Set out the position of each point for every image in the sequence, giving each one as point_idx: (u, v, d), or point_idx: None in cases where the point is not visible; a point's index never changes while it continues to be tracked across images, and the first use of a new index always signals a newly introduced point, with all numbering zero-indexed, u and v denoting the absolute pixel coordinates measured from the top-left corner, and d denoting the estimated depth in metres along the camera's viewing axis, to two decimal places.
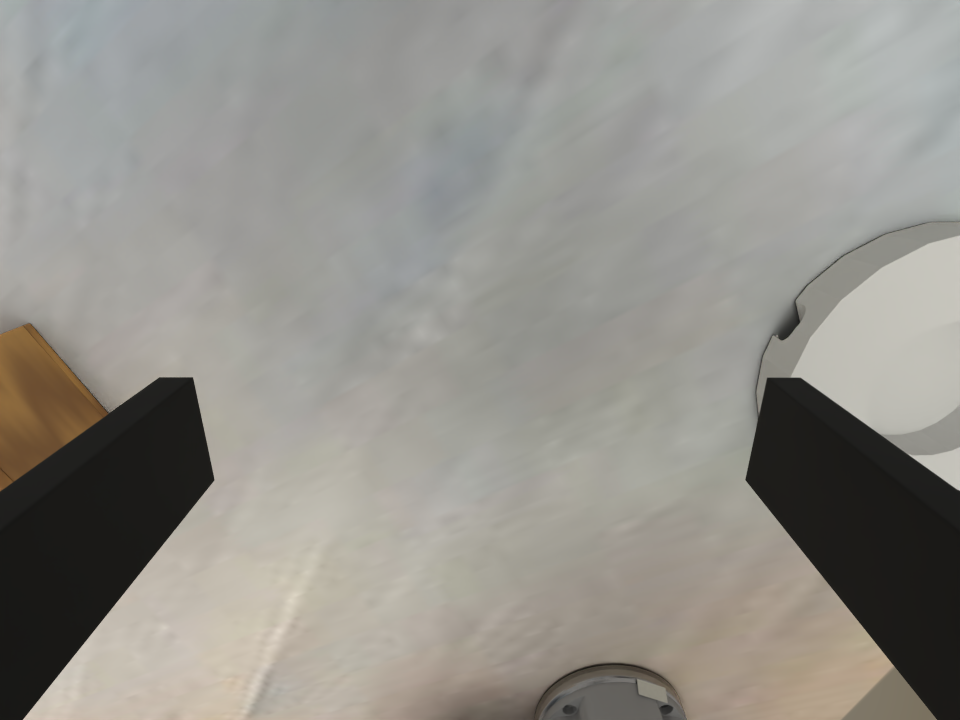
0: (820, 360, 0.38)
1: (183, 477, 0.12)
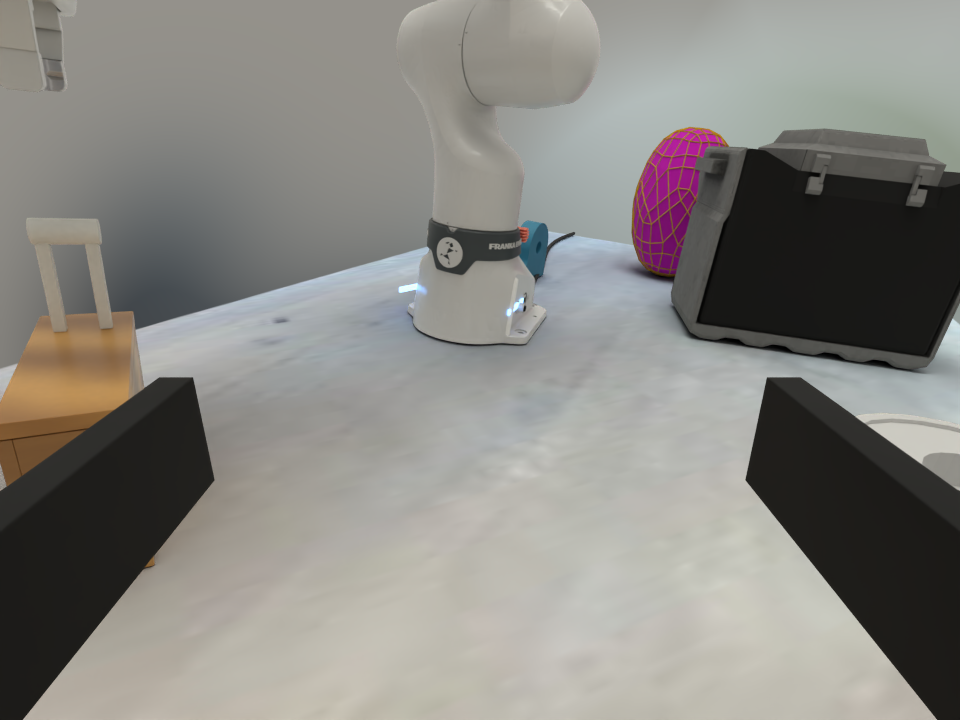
0: None
1: (183, 477, 0.12)
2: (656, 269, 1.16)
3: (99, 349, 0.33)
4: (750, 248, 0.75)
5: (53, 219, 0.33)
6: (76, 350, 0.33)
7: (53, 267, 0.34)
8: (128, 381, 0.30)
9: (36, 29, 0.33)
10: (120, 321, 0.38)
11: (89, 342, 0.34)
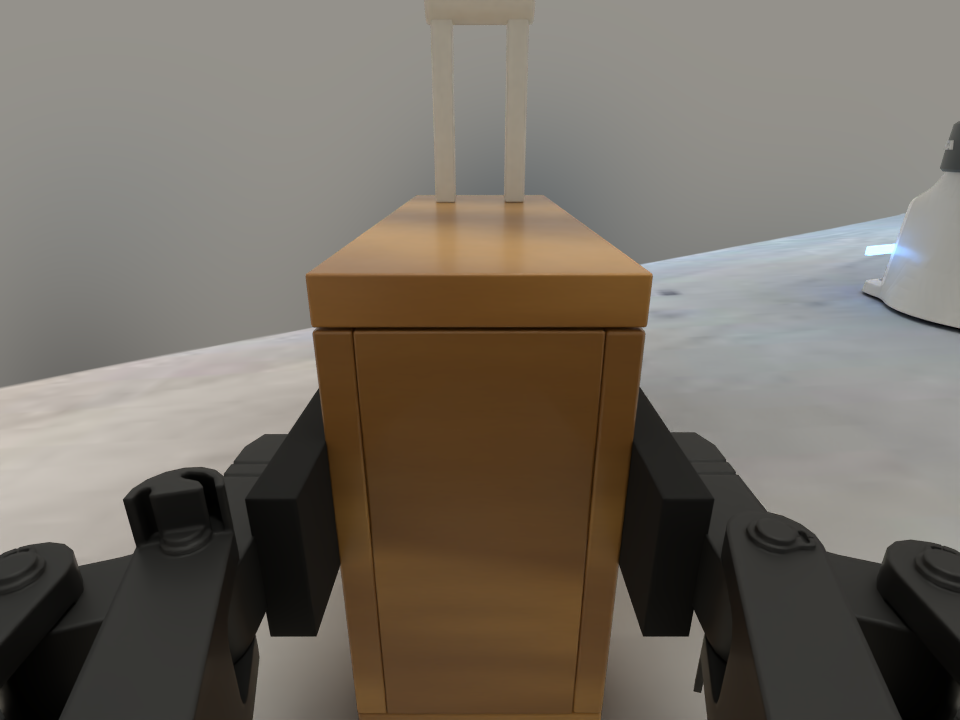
0: None
1: None
2: None
3: (515, 213, 0.16)
4: None
5: None
6: (476, 213, 0.16)
7: (452, 71, 0.18)
8: (606, 241, 0.11)
9: None
10: (532, 199, 0.21)
11: (494, 209, 0.17)
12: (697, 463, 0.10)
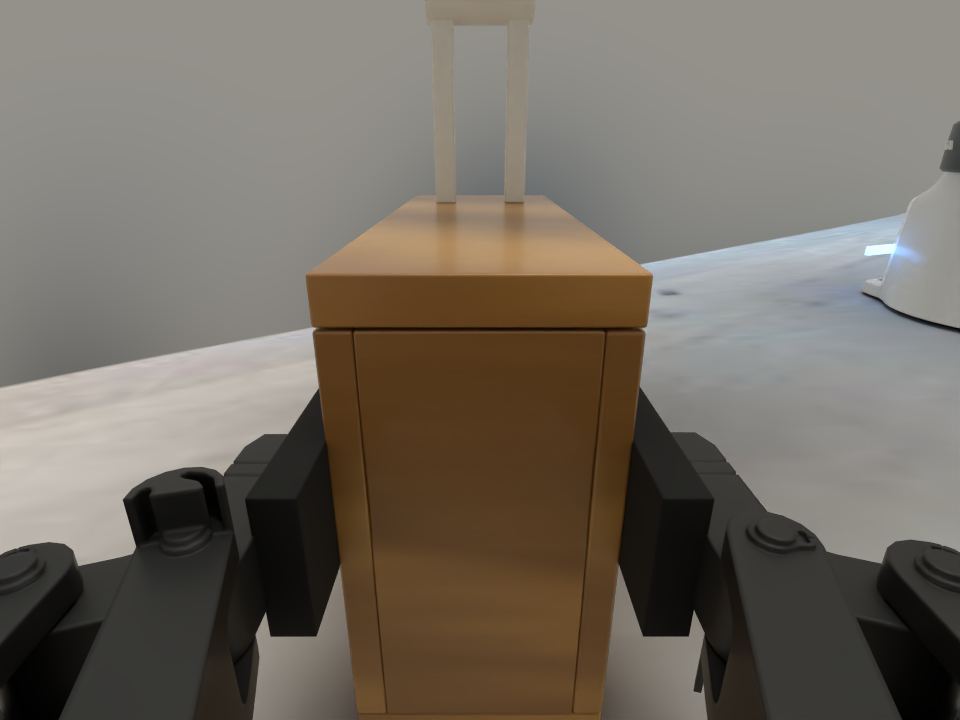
0: None
1: None
2: None
3: (515, 214, 0.16)
4: None
5: None
6: (476, 213, 0.16)
7: (452, 72, 0.18)
8: (606, 241, 0.11)
9: None
10: (532, 200, 0.21)
11: (494, 209, 0.17)
12: (697, 463, 0.10)
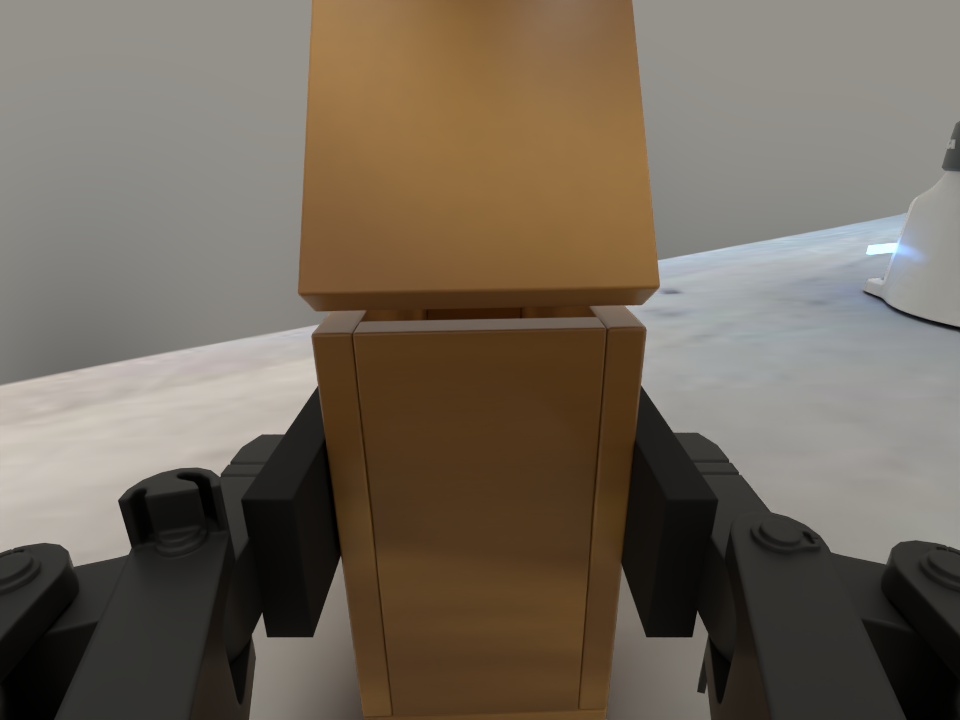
0: None
1: None
2: None
3: None
4: None
5: None
6: None
7: None
8: (639, 98, 0.09)
9: None
10: None
11: None
12: (700, 463, 0.10)
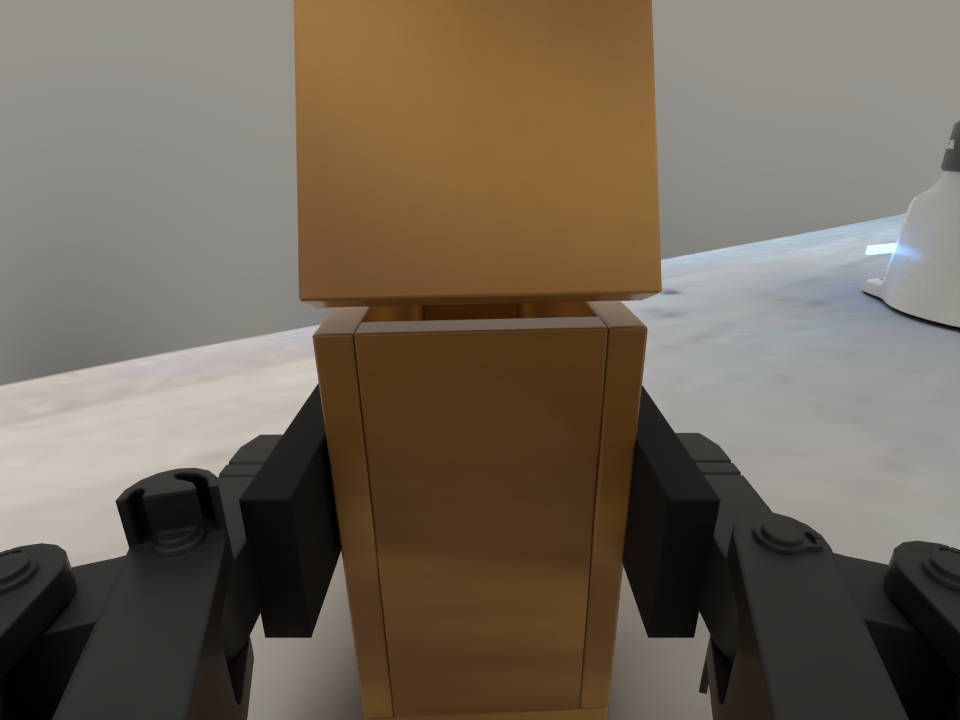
0: None
1: None
2: None
3: None
4: None
5: None
6: None
7: None
8: (652, 79, 0.08)
9: None
10: None
11: None
12: (702, 463, 0.10)
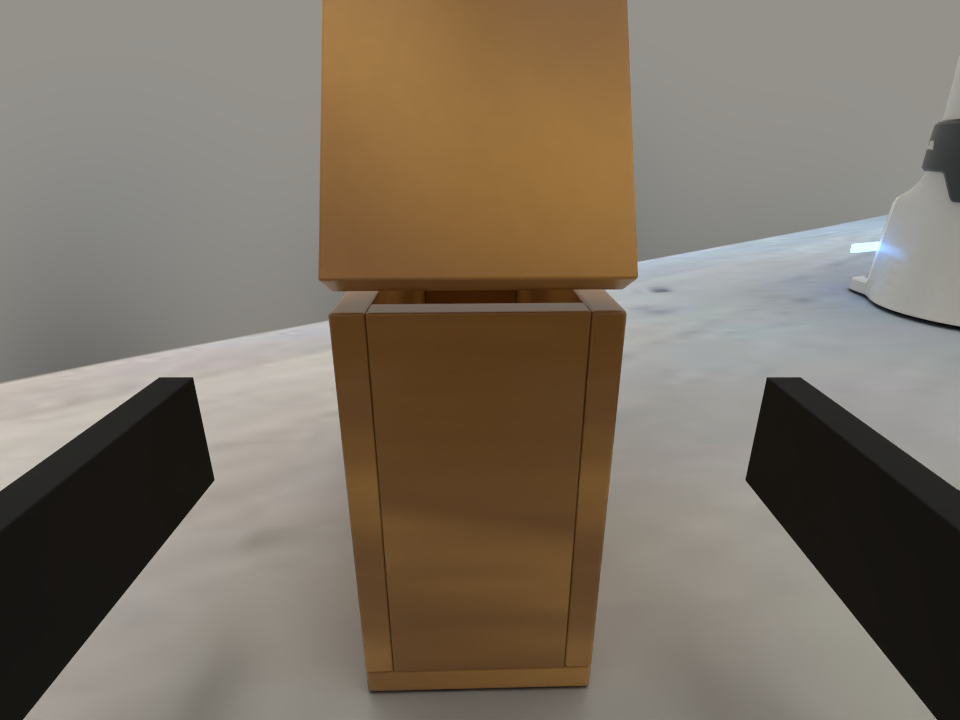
0: None
1: (183, 477, 0.12)
2: None
3: None
4: None
5: None
6: None
7: None
8: (629, 97, 0.09)
9: None
10: None
11: None
12: None
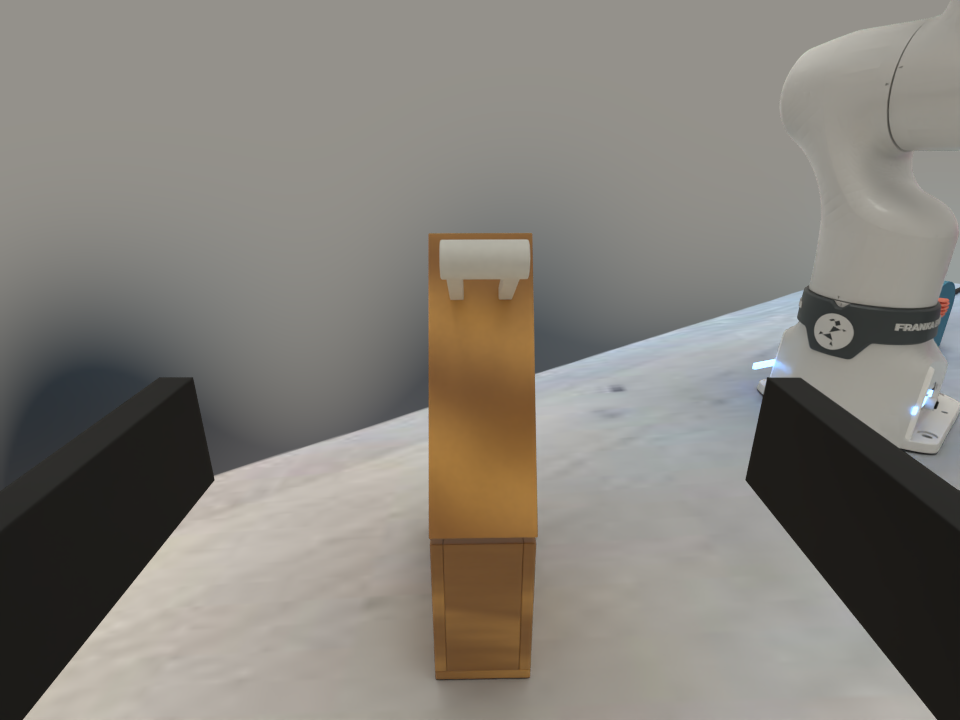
0: None
1: (183, 477, 0.12)
2: None
3: (502, 369, 0.28)
4: None
5: (473, 258, 0.21)
6: (479, 367, 0.28)
7: None
8: (535, 471, 0.27)
9: None
10: None
11: (490, 343, 0.28)
12: None
